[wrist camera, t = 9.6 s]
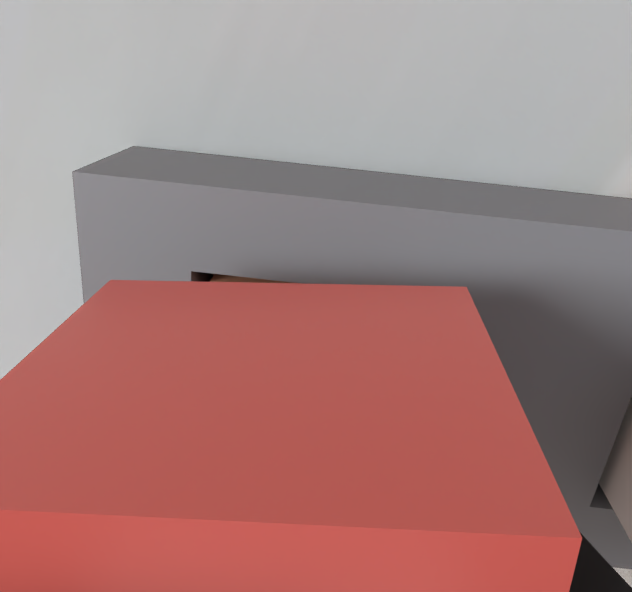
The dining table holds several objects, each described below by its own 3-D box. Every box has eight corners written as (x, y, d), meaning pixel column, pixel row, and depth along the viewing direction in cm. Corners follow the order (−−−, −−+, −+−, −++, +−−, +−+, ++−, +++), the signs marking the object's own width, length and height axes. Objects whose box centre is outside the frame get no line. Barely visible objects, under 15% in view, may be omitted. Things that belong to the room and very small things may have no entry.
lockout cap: (466, 286, 9) (582, 539, 4) (437, 554, 11) (492, 904, 7) (110, 280, 9) (-136, 503, 5) (154, 539, 12) (18, 859, 7)
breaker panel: (928, 229, 12) (1089, 280, 10) (772, 507, 16) (859, 603, 13) (133, 146, 13) (72, 171, 10) (145, 432, 16) (101, 509, 14)
